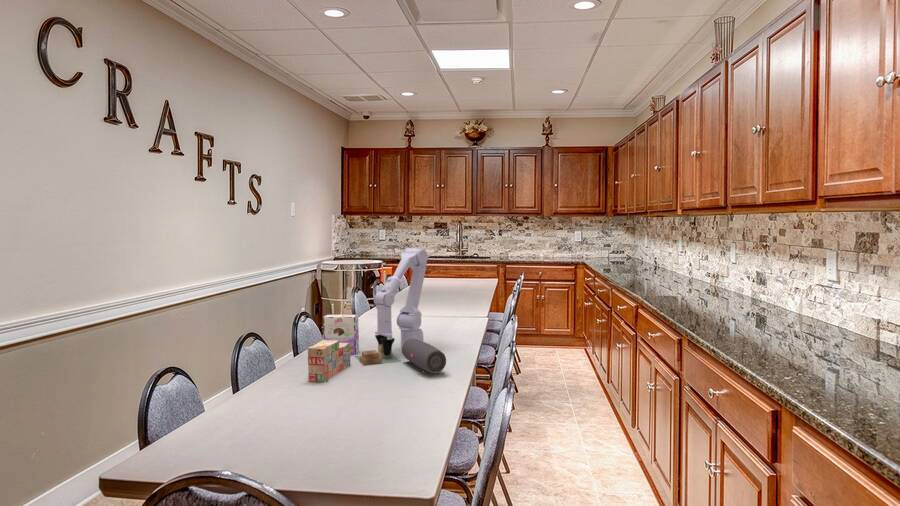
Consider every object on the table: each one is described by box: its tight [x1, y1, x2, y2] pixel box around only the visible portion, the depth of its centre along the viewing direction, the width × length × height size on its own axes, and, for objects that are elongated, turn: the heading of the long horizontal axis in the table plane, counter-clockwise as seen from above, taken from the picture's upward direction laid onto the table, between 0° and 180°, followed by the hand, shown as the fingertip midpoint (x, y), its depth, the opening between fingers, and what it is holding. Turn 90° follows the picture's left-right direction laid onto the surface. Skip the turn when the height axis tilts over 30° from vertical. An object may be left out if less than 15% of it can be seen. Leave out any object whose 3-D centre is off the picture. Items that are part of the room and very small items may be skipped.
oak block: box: [377, 344, 393, 358], centre depth 225 cm, size 4×4×4 cm
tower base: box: [359, 355, 382, 366], centre depth 216 cm, size 7×7×2 cm
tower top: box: [361, 349, 379, 360], centre depth 215 cm, size 6×6×2 cm
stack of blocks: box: [307, 339, 351, 383], centre depth 202 cm, size 21×6×12 cm, turn 165°
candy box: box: [322, 314, 360, 356], centre depth 231 cm, size 14×6×16 cm, turn 84°
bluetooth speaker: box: [401, 339, 447, 374], centre depth 207 cm, size 23×9×10 cm, turn 27°
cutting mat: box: [354, 354, 402, 367], centre depth 221 cm, size 15×16×1 cm
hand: (384, 353), depth 225 cm, fingers open, 5 cm apart
